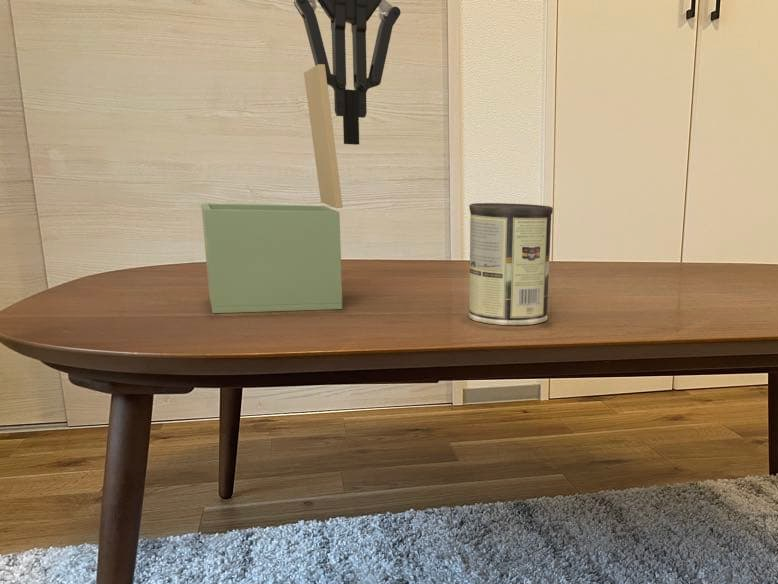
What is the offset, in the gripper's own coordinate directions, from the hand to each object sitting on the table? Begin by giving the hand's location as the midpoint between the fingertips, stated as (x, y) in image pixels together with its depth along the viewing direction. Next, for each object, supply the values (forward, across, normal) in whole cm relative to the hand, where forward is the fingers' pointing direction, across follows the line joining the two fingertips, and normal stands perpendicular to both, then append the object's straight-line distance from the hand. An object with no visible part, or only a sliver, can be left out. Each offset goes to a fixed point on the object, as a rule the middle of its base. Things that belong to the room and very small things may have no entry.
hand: (351, 144), depth 101 cm
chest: (+21, -11, 0) cm, 23 cm away
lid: (0, -4, 0) cm, 4 cm away
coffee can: (+21, +16, -16) cm, 31 cm away
